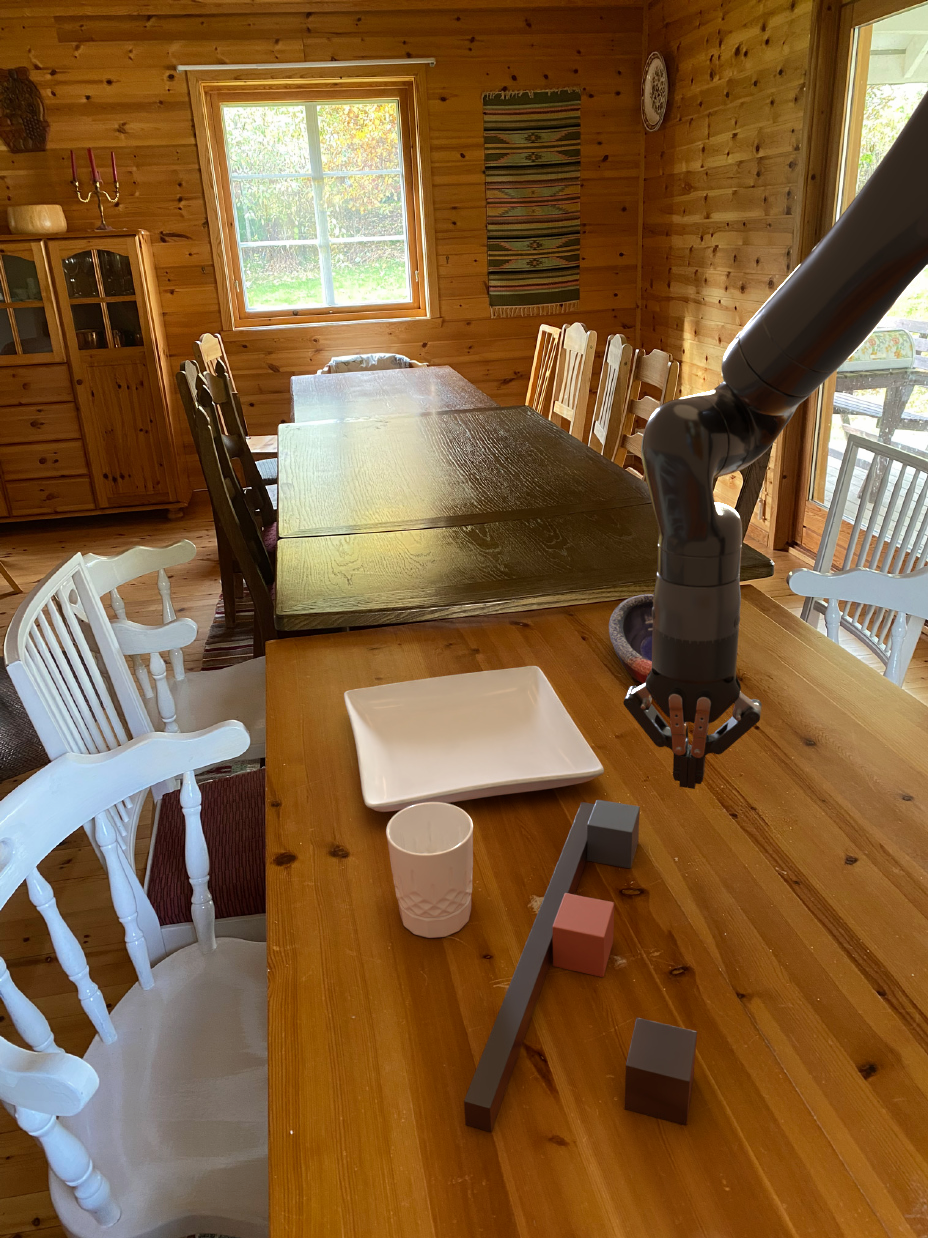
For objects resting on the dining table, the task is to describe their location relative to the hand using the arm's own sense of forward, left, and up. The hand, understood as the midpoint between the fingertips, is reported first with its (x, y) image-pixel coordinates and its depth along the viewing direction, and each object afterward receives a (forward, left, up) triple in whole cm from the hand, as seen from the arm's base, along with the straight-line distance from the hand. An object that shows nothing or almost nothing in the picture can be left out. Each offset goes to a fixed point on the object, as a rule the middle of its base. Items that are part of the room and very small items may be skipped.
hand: (687, 783), depth 89 cm
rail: (+10, +15, -9) cm, 21 cm away
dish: (+8, -45, -10) cm, 47 cm away
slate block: (+7, 0, -9) cm, 12 cm away
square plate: (+28, -14, -10) cm, 33 cm away
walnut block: (-2, +27, -9) cm, 29 cm away
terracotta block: (+7, +15, -9) cm, 19 cm away
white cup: (+21, +14, -10) cm, 27 cm away
